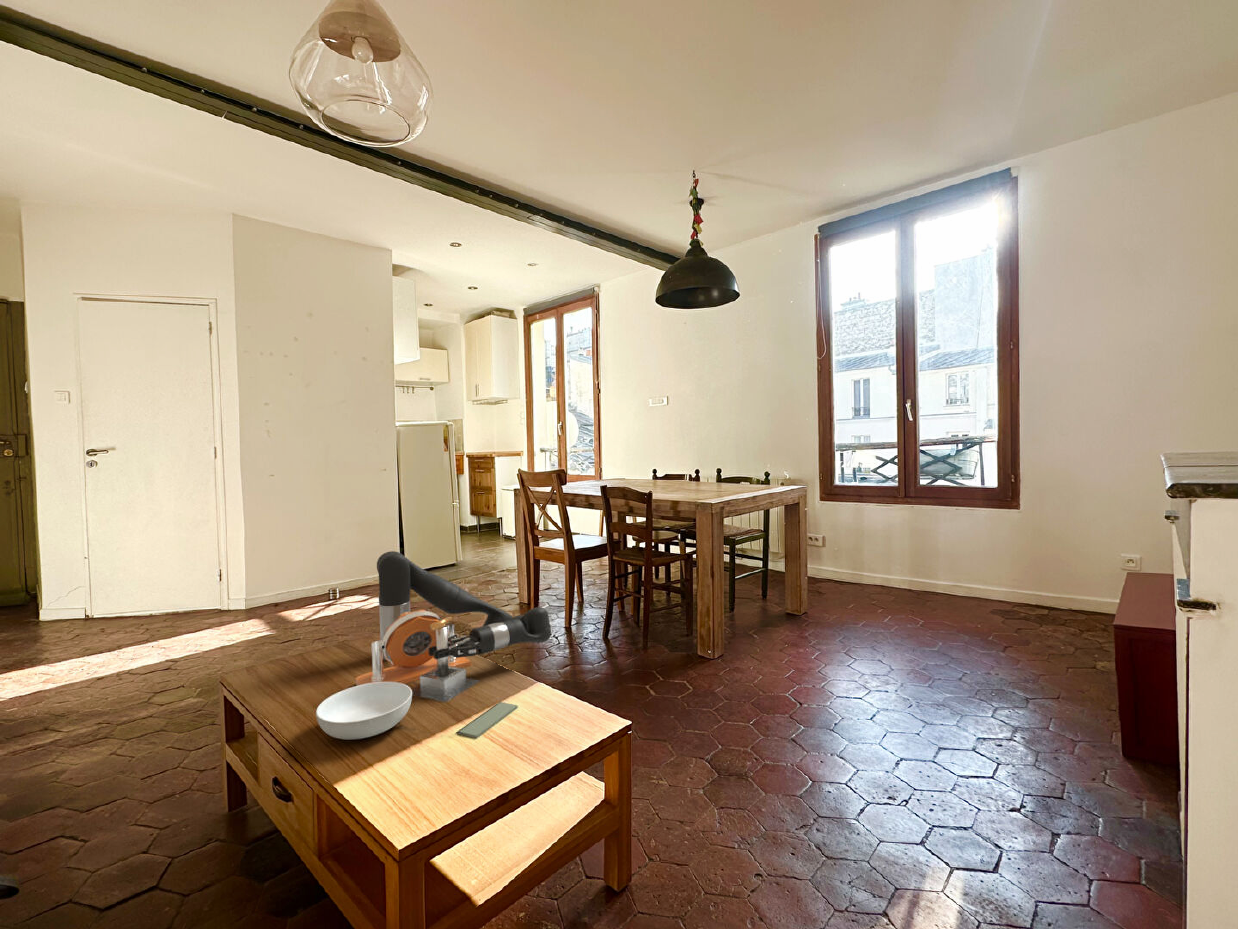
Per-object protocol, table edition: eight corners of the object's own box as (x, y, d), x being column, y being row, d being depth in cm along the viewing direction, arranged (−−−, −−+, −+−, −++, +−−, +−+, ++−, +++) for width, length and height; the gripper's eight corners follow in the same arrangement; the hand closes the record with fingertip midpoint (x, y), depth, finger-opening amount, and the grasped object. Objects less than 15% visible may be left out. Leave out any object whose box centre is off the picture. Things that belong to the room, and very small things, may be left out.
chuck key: (446, 680, 158) (443, 615, 158) (458, 683, 156) (456, 617, 156) (428, 690, 152) (425, 623, 151) (440, 693, 150) (438, 624, 149)
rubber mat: (467, 697, 150) (467, 695, 150) (517, 707, 143) (517, 705, 143) (423, 725, 135) (423, 723, 135) (476, 738, 128) (476, 735, 128)
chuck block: (441, 676, 164) (441, 659, 163) (480, 684, 158) (480, 666, 157) (405, 697, 151) (404, 678, 151) (445, 705, 145) (445, 686, 145)
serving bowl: (323, 717, 141) (322, 690, 140) (412, 701, 148) (411, 676, 148) (310, 760, 121) (308, 729, 121) (413, 740, 129) (412, 710, 128)
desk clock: (472, 669, 169) (469, 603, 168) (365, 699, 150) (361, 625, 150) (456, 658, 178) (454, 595, 178) (354, 684, 160) (351, 614, 159)
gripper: (502, 657, 158) (442, 675, 147) (479, 644, 169) (422, 660, 157) (501, 631, 158) (441, 646, 146) (478, 620, 168) (421, 633, 157)
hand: (431, 653), depth 152 cm, fingers closed on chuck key, 3 cm apart
